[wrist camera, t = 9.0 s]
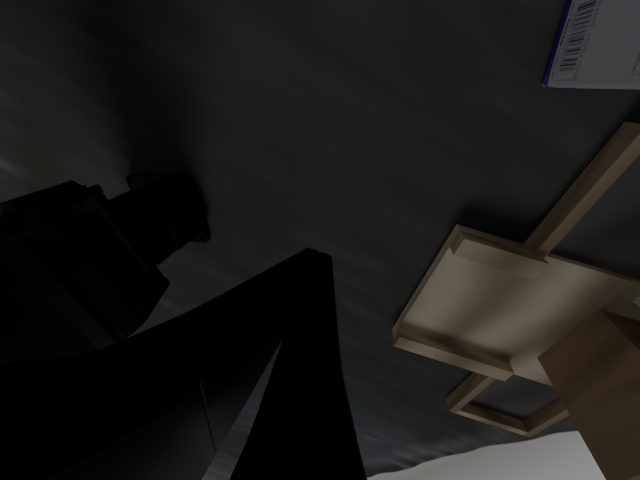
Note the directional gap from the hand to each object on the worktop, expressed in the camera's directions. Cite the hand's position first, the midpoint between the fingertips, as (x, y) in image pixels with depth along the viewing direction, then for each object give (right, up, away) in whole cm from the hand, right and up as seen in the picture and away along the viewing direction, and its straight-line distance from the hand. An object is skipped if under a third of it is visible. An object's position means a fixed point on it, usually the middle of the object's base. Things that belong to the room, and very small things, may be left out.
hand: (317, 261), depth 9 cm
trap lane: (+20, -6, +14) cm, 25 cm away
